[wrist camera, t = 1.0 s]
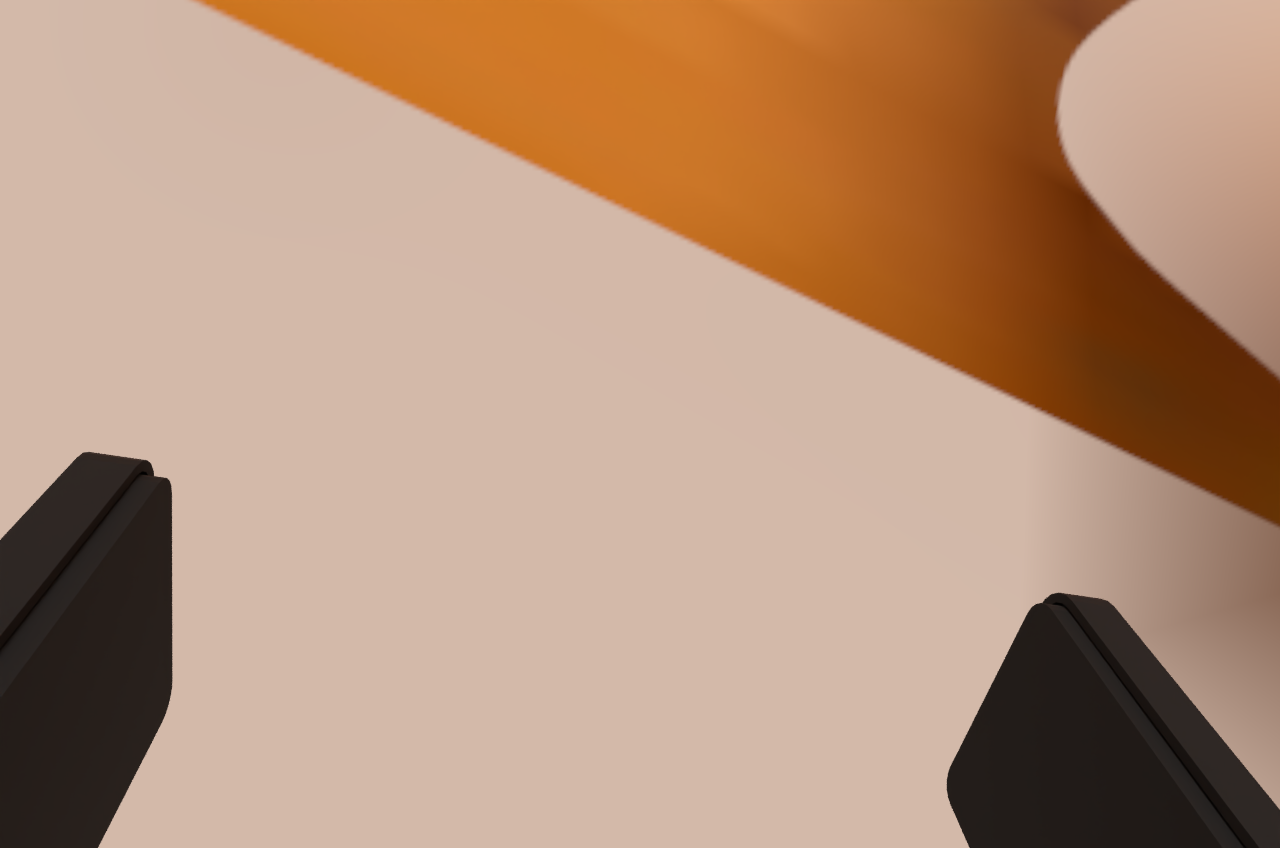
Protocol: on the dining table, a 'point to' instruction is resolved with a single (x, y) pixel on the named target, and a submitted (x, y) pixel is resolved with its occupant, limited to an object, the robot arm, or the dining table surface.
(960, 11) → the dining table surface
